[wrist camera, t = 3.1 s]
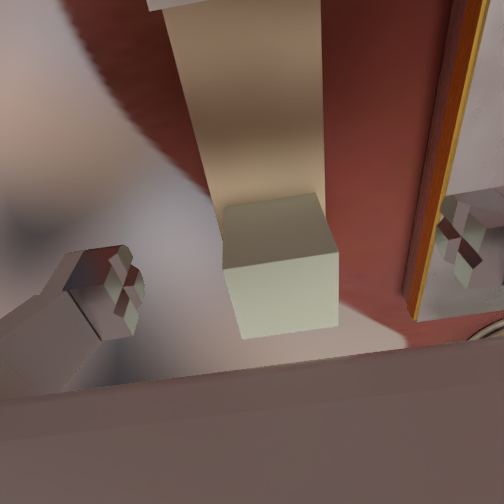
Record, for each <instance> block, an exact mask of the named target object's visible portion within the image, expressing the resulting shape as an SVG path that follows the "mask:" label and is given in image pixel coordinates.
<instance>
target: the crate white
mask: <svg viewBox="0 0 504 504" xmlns="http://www.w3.org/2000/svg"><path fill="white" fill-rule="evenodd" d="M146 1H147V5H148V9H149V12H150V11H155V10H160V9H165V8H170V7H176V6H181V5H186V4H191V3H196V2H201V1H206V0H146Z"/></svg>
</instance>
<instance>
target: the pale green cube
mask: <svg viewBox="0 0 504 504" xmlns="http://www.w3.org/2000/svg"><path fill="white" fill-rule="evenodd" d="M223 273H224V277H225V280H226V284H227V287H228V291H229V294H230V298H231V301H232V305H233V309H234V312H235V315H236V319H237V323H238V326H239V330H240V333H241V337H242V339H250V338H258V337H265V336H272V335H279V334H286V333H292V332H300V331H307V330H315V329H322V328H329V327H336V326H338V303H339V251H338V249H337V246H336V243H335V241H334V238H333V236H332V233H331V231H330V228H329V226H328V223H327V220H326V218H325V215H324V213H323V210H322V208H321V205H320V202H319V200H318V197H317V195H316V193H311V194H305V195H299V196H293V197H286V198H280V199H274V200H268V201H262V202H256V203H249V204H243V205H237V206H231V207H225V208H224V209H223Z"/></svg>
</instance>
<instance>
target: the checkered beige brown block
mask: <svg viewBox="0 0 504 504" xmlns="http://www.w3.org/2000/svg"><path fill="white" fill-rule="evenodd" d="M162 12H163V16H164V20H165V24H166V27H167V31H168V35H169V39H170V43H171V46H172V50H173V54H174V58H175V62H176V65H177V69H178V73H179V77H180V81H181V84H182V88H183V92H184V96H185V100H186V103H187V107H188V111H189V115H190V118H191V122H192V126H193V130H194V134H195V137H196V141H197V145H198V149H199V153H200V156H201V160H202V164H203V168H204V172H205V175H206V179H207V183H208V187H209V191H210V194H211V198H212V202H213V206H214V210H215V213H216V217H217V221H218V225H219V229H220V232H221V236H222V240H223V209H224V208H225V207H231V206H237V205H243V204H249V203H256V202H262V201H268V200H274V199H280V198H286V197H293V196H299V195H305V194H311V193H316V195H317V197H318V200H319V202H320V205H321V208H322V210H323V213H324V215H325V218H326V211H325V169H324V127H323V84H322V42H321V0H206V1H201V2H196V3H191V4H186V5H181V6H176V7H170V8H165V9H162Z"/></svg>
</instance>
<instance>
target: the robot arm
mask: <svg viewBox="0 0 504 504" xmlns="http://www.w3.org/2000/svg"><path fill="white" fill-rule="evenodd" d="M440 212H441V213H442V215H443V216H444V218H443V219H442V220H441V221H440V222H439V223H438V224H437V226H436V232H435V242H436V247H437V250H438V252H439V254H440V256H441V257H442V258H443V260H445V261H447V262H449V263H451V264H453V265H454V268H453V273H454V274H455V276H456V277H457V278H458V280H459V281H460V282H461V284H462V285H463V286H464V288H465V289H466V290H473V289H482V288H491V287H500V286H504V185H502V186H497V187H492V188H487V189H482V190H476V191H471V192H465V193H459V194H453V195H447V196H445V197H444V199H443V200H442V202H441V207H440ZM132 259H133V256H132V254H131V252H130V250H129V248H128V247H126V246H125V245H117V246H109V247H102V248H95V249H88V250H80V251H74V252H69V253H67V254H65V255H64V256H63V258H62V260H61V261H60V263H59V264H58V266H57V268H56V269H55V271H54V273H53V274H52V276H51V277H50V279H49V281H48V282H47V284H46V285H45V287H44V289H43V290H42V292H41V294H40V295H35V296H33V297H31V298H30V299H28V300H27V301H25V302H24V303H23V304H21V305H20V306H18V307H17V308H15V309H14V310H13V311H11V312H10V313H8V314H7V315H5V316H4V317H3V318H1V319H0V504H504V336H499V337H491V338H483V339H475V340H467V341H459V342H451V343H443V344H436V345H428V346H420V347H412V348H404V349H396V350H388V351H381V352H373V353H365V354H357V355H350V356H343V357H335V358H326V359H318V360H310V361H304V362H295V363H288V364H279V365H272V366H264V367H256V368H249V369H241V370H233V371H225V372H217V373H210V374H202V375H194V376H187V377H178V378H170V379H163V380H156V381H147V382H140V383H132V384H124V385H116V386H109V387H100V388H93V389H85V390H77V391H69V392H62V393H58V392H59V391H60V390H61V389H62V388H63V386H64V385H65V384H66V383H67V382H68V381H69V380H70V379H71V377H72V376H73V375H74V374H75V373H76V372H77V370H78V369H79V368H80V367H81V366H82V365H83V364H84V362H85V361H86V360H87V359H88V358H89V357H90V355H91V354H92V353H93V352H94V351H95V350H96V349H97V347H98V346H99V345H100V344H101V341H105V340H111V339H117V338H123V337H129V336H133V335H134V331H135V328H136V324H137V321H138V317H139V315H138V313H137V311H136V309H137V308H138V307H139V306H140V305H141V304H142V303H143V299H144V281H143V277H142V275H141V273H140V270H139V269H137V268H136V267H134V266H133V265H131V262H132ZM503 288H504V287H503Z"/></svg>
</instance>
